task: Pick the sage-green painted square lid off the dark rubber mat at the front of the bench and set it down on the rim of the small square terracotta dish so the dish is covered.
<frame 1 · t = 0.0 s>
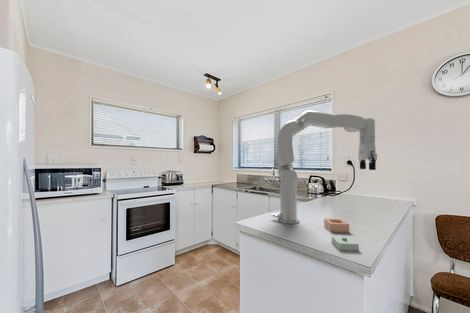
hand: (367, 169, 116), 31 cm above the table, fingers open, 9 cm apart
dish: (336, 229, 104), on the table
lid: (344, 246, 83), resting on mat
mat: (344, 247, 83), on the table
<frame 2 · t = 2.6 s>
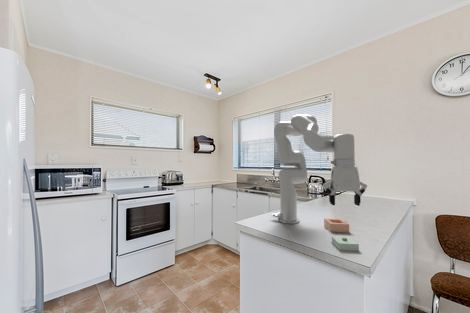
hand: (344, 204, 83), 18 cm above the table, fingers open, 9 cm apart
nothing on the table moved.
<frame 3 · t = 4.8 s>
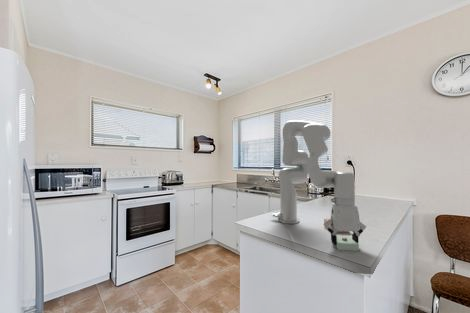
hand: (344, 244, 83), 1 cm above the table, fingers closed on lid, 7 cm apart
lid: (344, 246, 83), point 1 cm above the table, touching gripper, mat
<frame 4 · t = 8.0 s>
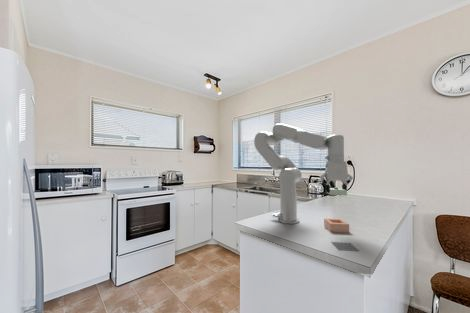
hand: (335, 192, 104), 20 cm above the table, fingers closed on lid, 7 cm apart
lid: (336, 193, 104), point 19 cm above the table, touching gripper
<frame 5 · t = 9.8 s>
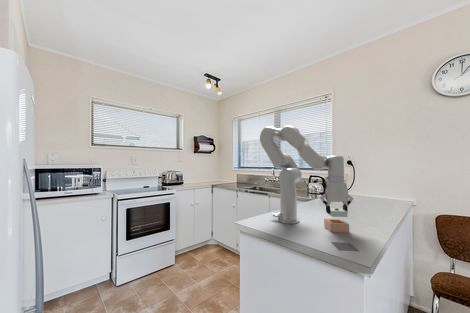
hand: (336, 213, 104), 9 cm above the table, fingers closed on lid, 7 cm apart
lid: (336, 214, 104), point 8 cm above the table, touching gripper
when the fingers open (6 cm above the table, at t = 11.4 s): lid stays where it is, resting on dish.
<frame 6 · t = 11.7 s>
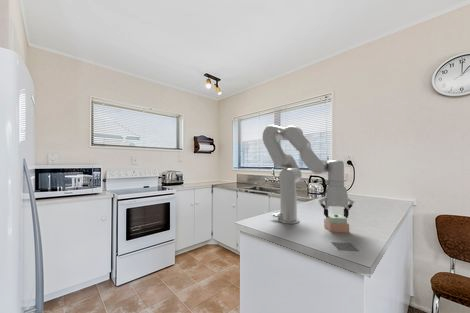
hand: (336, 216, 104), 7 cm above the table, fingers open, 9 cm apart
lid: (336, 221, 104), point 4 cm above the table, touching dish
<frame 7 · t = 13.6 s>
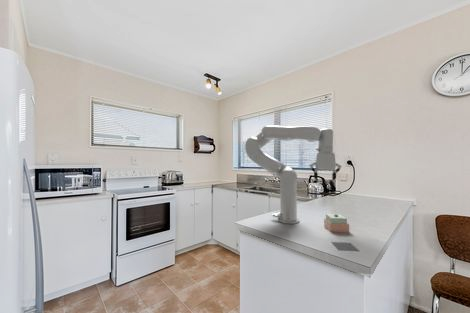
hand: (324, 179, 116), 25 cm above the table, fingers open, 9 cm apart
nothing on the table moved.
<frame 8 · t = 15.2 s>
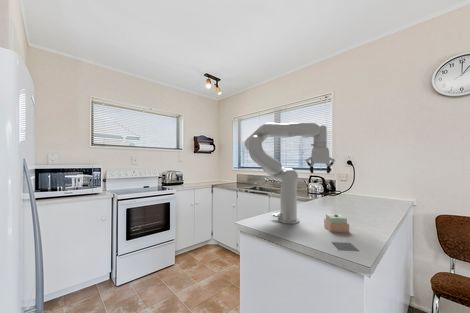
hand: (320, 173, 123), 28 cm above the table, fingers open, 9 cm apart
nothing on the table moved.
at the end: lid 0.0 cm off-centre on the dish, point 4.5 cm above the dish's base; lid tilted 0°; the gripper is holding nothing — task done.
